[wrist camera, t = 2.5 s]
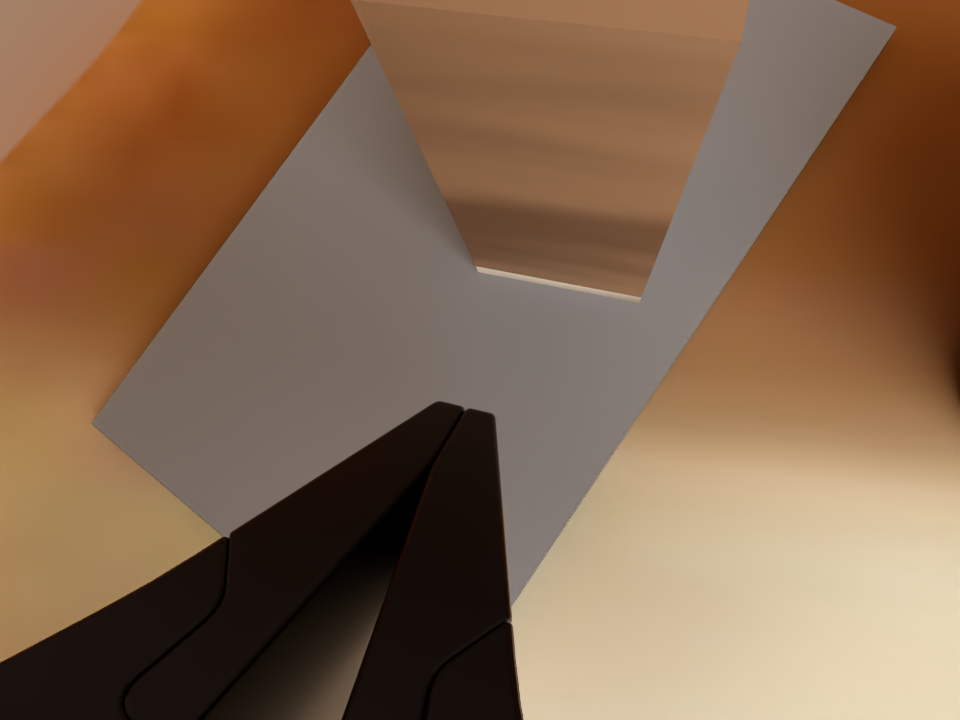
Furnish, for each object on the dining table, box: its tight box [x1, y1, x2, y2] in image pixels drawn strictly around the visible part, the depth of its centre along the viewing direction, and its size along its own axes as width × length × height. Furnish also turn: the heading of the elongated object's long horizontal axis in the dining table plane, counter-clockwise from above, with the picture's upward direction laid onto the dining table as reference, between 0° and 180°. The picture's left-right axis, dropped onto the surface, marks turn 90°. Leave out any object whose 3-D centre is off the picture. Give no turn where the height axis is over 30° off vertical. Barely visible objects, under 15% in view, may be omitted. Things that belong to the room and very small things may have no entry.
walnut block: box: [351, 0, 750, 303], centre depth 12 cm, size 4×4×10 cm
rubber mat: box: [91, 0, 897, 606], centre depth 17 cm, size 22×13×1 cm, turn 145°
